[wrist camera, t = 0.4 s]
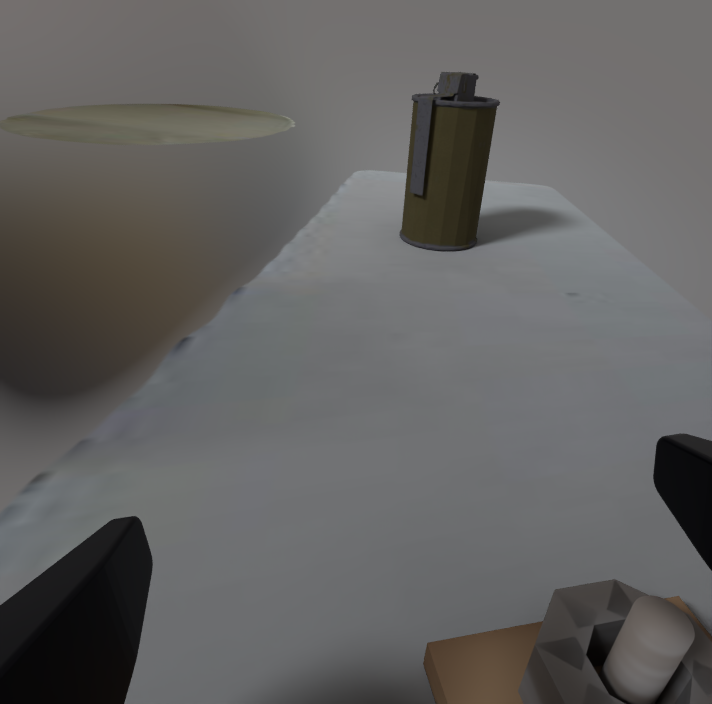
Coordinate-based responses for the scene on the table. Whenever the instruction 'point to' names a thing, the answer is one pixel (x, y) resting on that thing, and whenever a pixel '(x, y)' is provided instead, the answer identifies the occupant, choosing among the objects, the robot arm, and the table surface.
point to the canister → (447, 164)
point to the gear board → (581, 654)
